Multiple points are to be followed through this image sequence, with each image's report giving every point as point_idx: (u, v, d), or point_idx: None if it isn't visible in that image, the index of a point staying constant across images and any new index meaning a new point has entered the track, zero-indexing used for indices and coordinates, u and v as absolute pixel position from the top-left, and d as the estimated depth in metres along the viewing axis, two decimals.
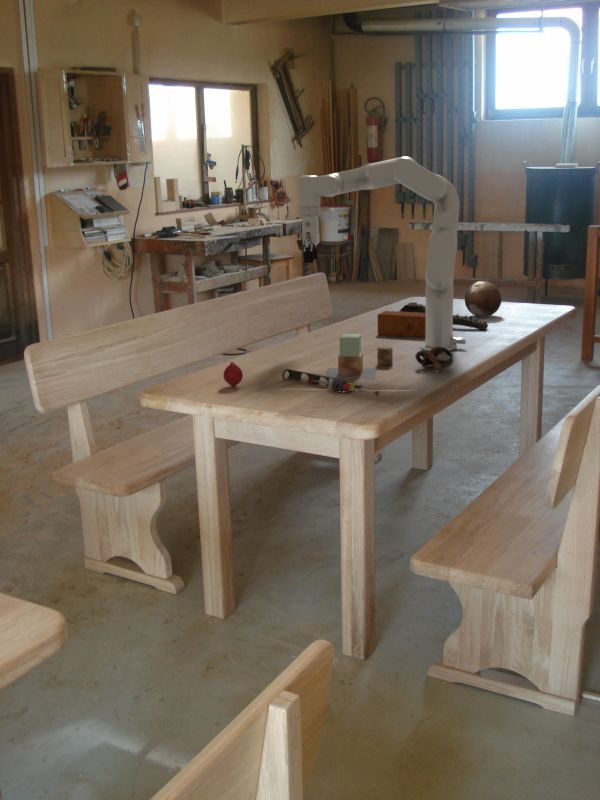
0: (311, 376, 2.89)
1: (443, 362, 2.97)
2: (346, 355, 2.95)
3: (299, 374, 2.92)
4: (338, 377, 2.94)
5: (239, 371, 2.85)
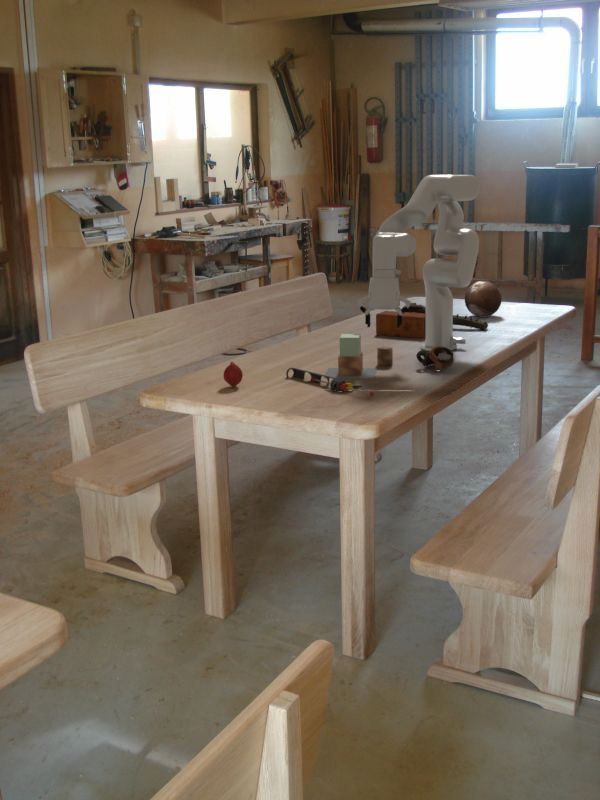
0: (313, 375, 2.90)
1: (444, 361, 2.97)
2: (346, 355, 2.95)
3: (303, 373, 2.94)
4: (338, 377, 2.94)
5: (239, 371, 2.85)
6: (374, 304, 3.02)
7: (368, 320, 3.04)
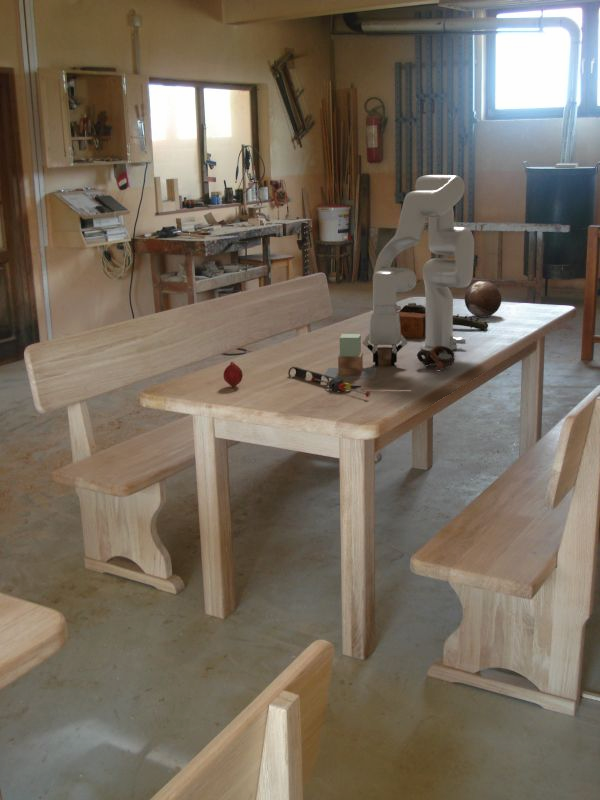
0: (314, 374, 2.91)
1: (445, 361, 2.98)
2: (346, 355, 2.95)
3: (304, 372, 2.95)
4: (338, 377, 2.94)
5: (239, 371, 2.85)
6: (375, 340, 3.05)
7: (376, 358, 3.07)
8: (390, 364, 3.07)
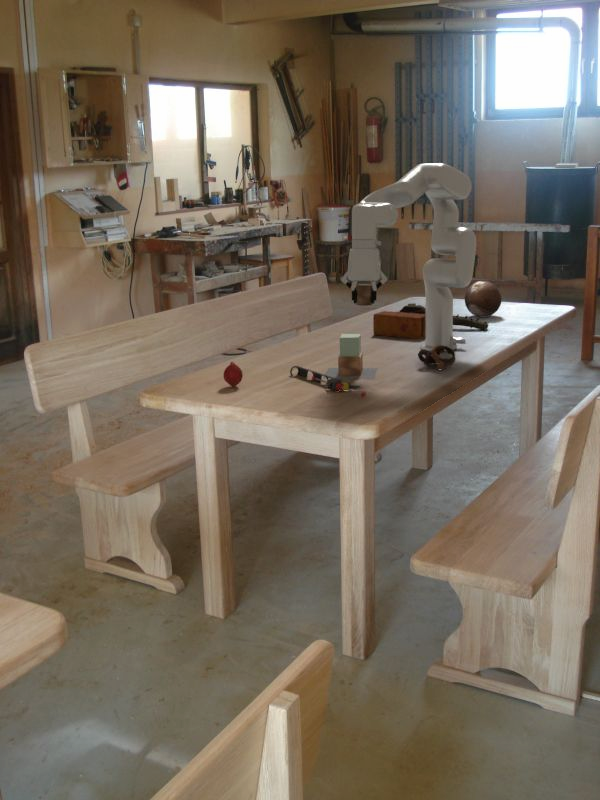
0: (315, 374, 2.91)
1: (446, 360, 2.99)
2: (346, 355, 2.95)
3: (306, 371, 2.96)
4: (338, 377, 2.94)
5: (239, 371, 2.85)
6: (354, 276, 2.93)
7: (354, 296, 2.96)
8: (369, 302, 2.95)
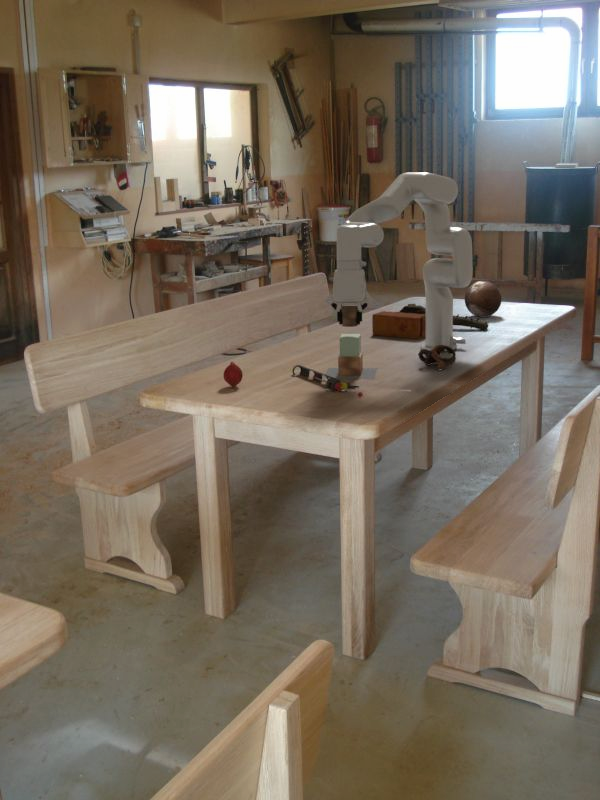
0: (316, 373, 2.92)
1: (446, 360, 2.99)
2: (346, 355, 2.95)
3: (308, 371, 2.96)
4: (338, 377, 2.94)
5: (239, 371, 2.85)
6: (339, 297, 2.91)
7: (340, 317, 2.93)
8: (355, 323, 2.93)
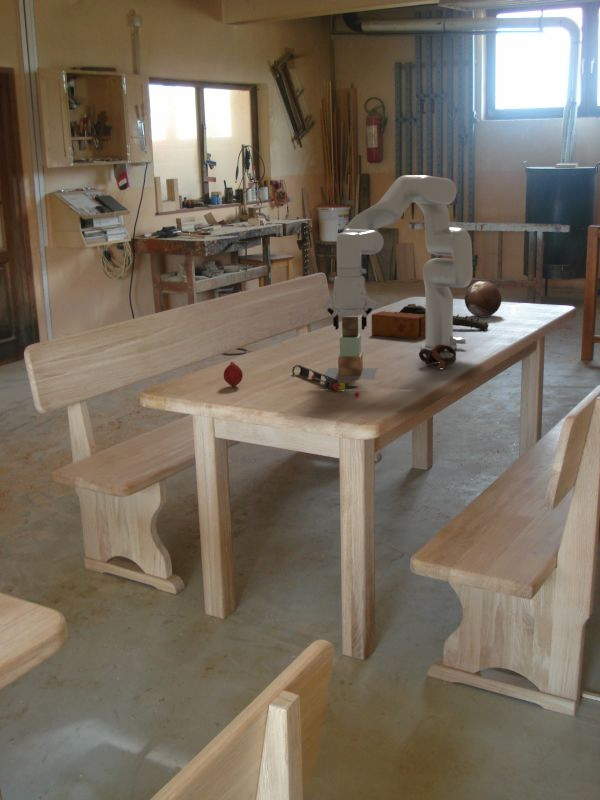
0: (315, 373, 2.92)
1: (447, 360, 3.00)
2: (346, 355, 2.95)
3: (307, 370, 2.97)
4: (338, 377, 2.94)
5: (239, 371, 2.85)
6: (339, 305, 2.92)
7: (336, 322, 2.94)
8: (355, 334, 2.94)
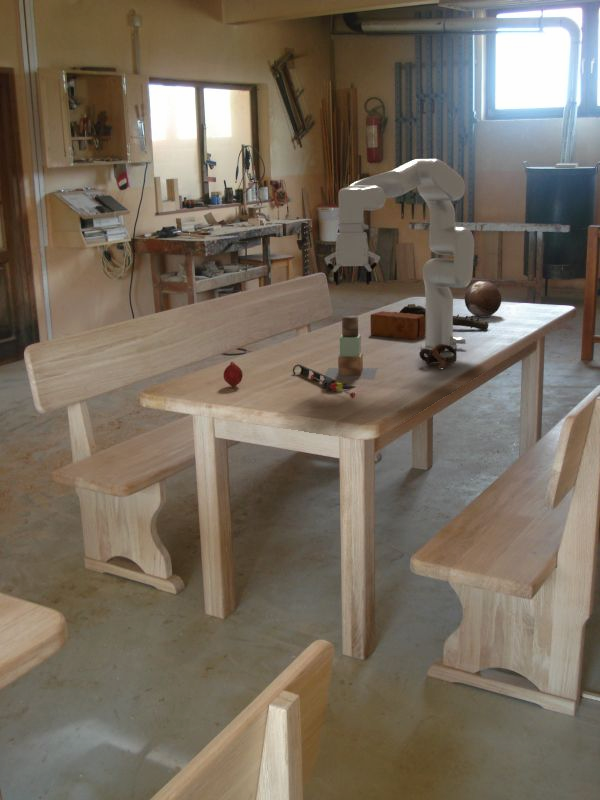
0: (315, 373, 2.92)
1: (448, 359, 3.00)
2: (346, 355, 2.95)
3: (308, 370, 2.97)
4: (338, 377, 2.94)
5: (239, 371, 2.85)
6: (342, 261, 2.91)
7: (336, 277, 2.93)
8: (355, 334, 2.94)
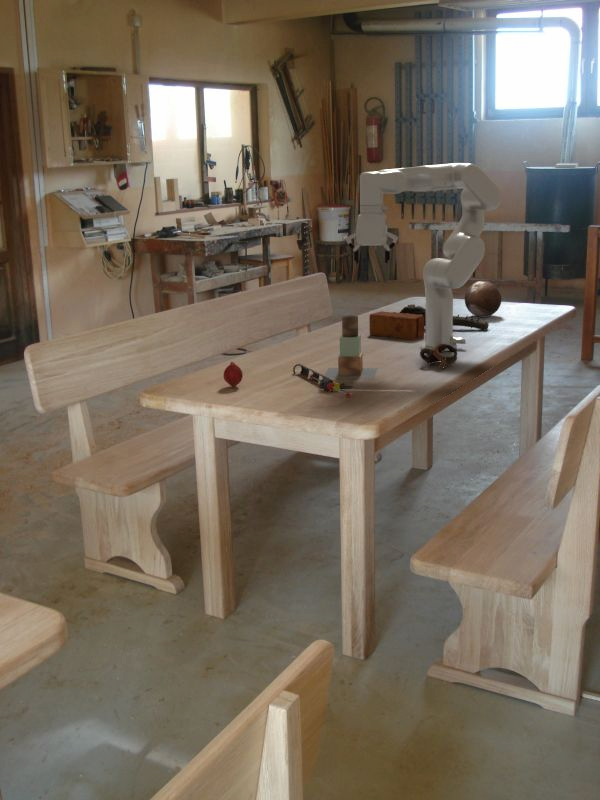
0: (314, 373, 2.93)
1: (448, 359, 3.01)
2: (346, 355, 2.95)
3: (307, 370, 2.98)
4: (338, 377, 2.94)
5: (239, 371, 2.85)
6: (362, 241, 3.09)
7: (357, 256, 3.11)
8: (355, 334, 2.94)
